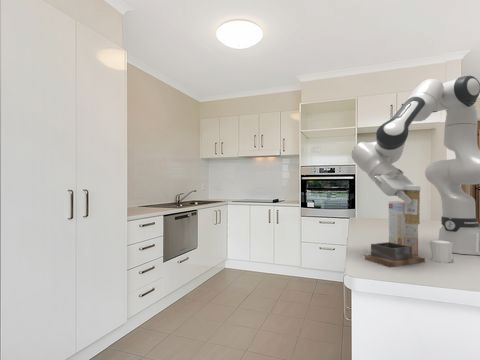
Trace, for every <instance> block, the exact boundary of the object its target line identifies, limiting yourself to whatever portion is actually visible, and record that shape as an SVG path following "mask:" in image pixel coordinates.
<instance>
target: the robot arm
mask: <svg viewBox="0 0 480 360" xmlns="http://www.w3.org/2000/svg"><path fill="white" fill-rule="evenodd" d="M479 95H480V81H479V79H478V78H476V77H475V76H473V75H464V76H460V77H458V78H455V79H452V80H448V81H445V82H441V81H440V80H439V79H436V78H428V79H425V80H423V81H421V82H420V83H419V84H418V85H417V86H416V87H415V88H414V89H413V90H412V92H411V93H410V94H409V95H408V97H407V98H406V100H405V101H404V103H403V105H402V106H401V107H400V108H399V109H398V110H397V111H396V113H395V114H394V115H393V117H391V118H390V119H389V120H387V121H386V122H384V123H382V124H381V125H380V126H379V127H377V130H376V132H375V135H376V137H375V138H376V141H372V142H364V141H360V142H359V143H357V144H356V145H355V146H354V147H353V150H351V151H352V152H351V159H352V160H353V162H354V163H355V164H356V166H358V168H359V169H360V170H362V171H363V172H365V173H366V174H367V176H368V177H369V178H370V180H371V181H372V182H374V184H376V186H377V187H378V188H379V189H380V190H381V192H382V193H384V194H385V195H386V196H388V197H394V196H395V197H397V198H398V199H400V200H401V201H402V202H406V203H407V204H411V203H412V202H413V200H412V199H411V198H410V197H408V196H407V195H406V192H405V185H415V184H414V183H413V182H412V181H411V180H410V179H409V178H408V177H407V176H406V175H404V171H402V170H401V169H399V168H398V167H396V166H395V165H393V164H394V163H395V162H397V161H399V159H401V157H402V155H403V152H404V148H405V145H406V141H407V139H408V136H409V127H410V125H411V124H412V123H413V122H423V121H425V120H426V119H427V118H429V117H430V116H431V115H432V114H433V113H437V112H440V111H444V110H445V112H446V115H445V116H446V117H445V122H444V129H443V130H444V132H443V145H444V146H445V148H446V149H448V150H450V151H452V152H454V155H455V158H454V159H453V158H452V159H441V160H438V161H434V162H430V163H429V164H428V165H426V168H425V170H424V175H425V177H426V180H427V181H428V182H429V183H431V185H433V186H434V187H435V188H436V190H437V192H438V193H439V196H440V198H441V199H440V200H441V210H442V216H441V219H440V222H441V225H442V226H441V227H440V228H439V229H438V239H437V240H442V241H448V242H452V243H453V246H452V254H460V255H474V256H480V218H477V217H476V215H477V213H476V208H477V207H476V199H475V198H474V197H473V196H472V195H470V194H468V193H466V191H464V190H463V188H462V185H480V148H479V145H478V111H477V107H476V105H475V103H476V102H477V99H478V98H479Z"/></svg>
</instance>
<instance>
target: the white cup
mask: <svg viewBox="0 0 480 360" xmlns="http://www.w3.org/2000/svg"><path fill="white" fill-rule="evenodd" d="M429 246H430V252H431V261H433V262H436V261H437V262H438V263H442V262H444V264H450V263H452V254H453V253H452V246H453V243H452V242H448V241H442V240H438V239H433V240H429ZM449 262H450V263H449Z"/></svg>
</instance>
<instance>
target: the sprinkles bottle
mask: <svg viewBox="0 0 480 360" xmlns="http://www.w3.org/2000/svg"><path fill="white" fill-rule="evenodd" d="M405 192H406V195H407V196H408V197H410V198H411V199H412V200H413V202H412V203H411V204H407V203H406V202H405V201H404V202H405V223H407V224H418V225H420V224H421V223H420V215H421V208H420V207H421V206H420V202H421V199H420V198H421V197H420V196H421V195H420V192H421V185H418V184H414V185H405Z"/></svg>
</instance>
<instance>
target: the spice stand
mask: <svg viewBox="0 0 480 360" xmlns="http://www.w3.org/2000/svg"><path fill="white" fill-rule="evenodd" d="M364 260H366V261H369V262H371V263H372V262H373V263H375V264H379V265H381V266H386V267H389V268H395V267H401V266H408V265H409V266H410V265H414V264H420V263H422V264H423V263H425V262H426V261H425V260H426V259H425V257H423V256H419V255H412V247H409V246H404V245H400V244H395V243H390V242H389V241H388V242H379V243H371V244H370V254H365V255H364Z"/></svg>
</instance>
